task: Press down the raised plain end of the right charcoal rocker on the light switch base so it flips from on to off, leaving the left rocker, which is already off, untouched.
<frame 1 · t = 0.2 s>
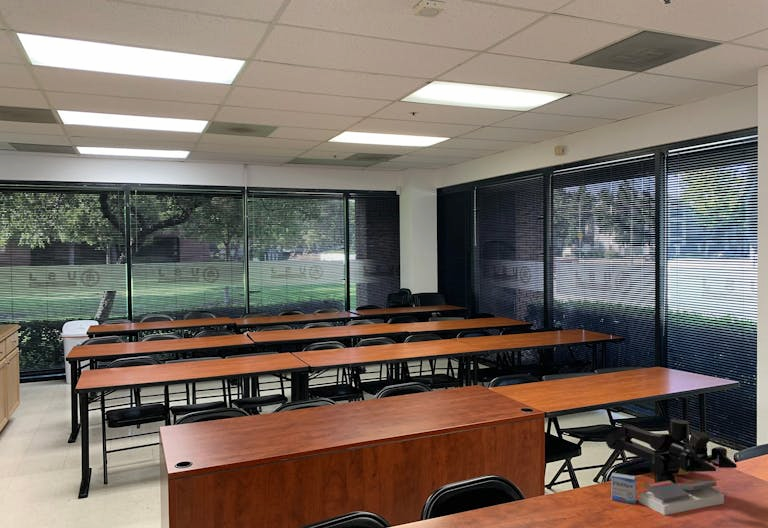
hand: (726, 468, 183), 16 cm above the table, tool horizontal, fingers open, 9 cm apart
light switch base: (681, 502, 195), on the table
rocker 1: (666, 491, 192), point 5 cm above the table, hinge at 15.0°
rocker 2: (695, 485, 197), point 5 cm above the table, hinge at -15.0°
medicine box: (623, 500, 197), on the table
stress ball: (679, 474, 222), on the table
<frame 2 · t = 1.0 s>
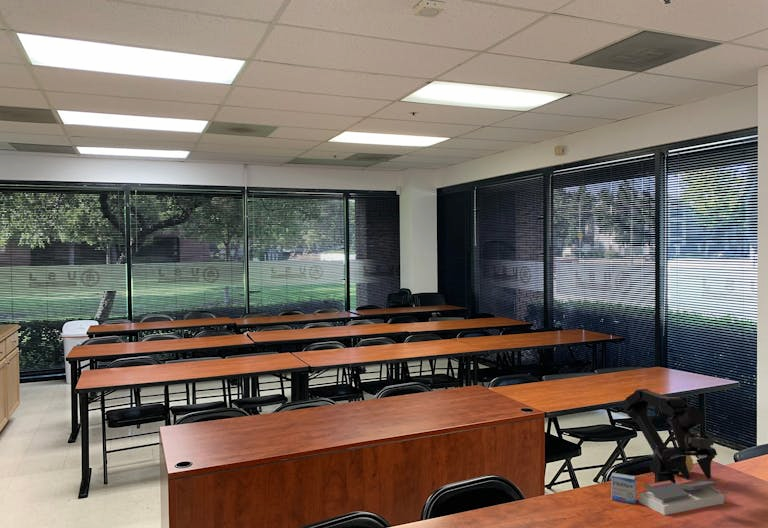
hand: (698, 479, 188), 11 cm above the table, tool tilted 30°, fingers open, 9 cm apart
nothing on the table moved.
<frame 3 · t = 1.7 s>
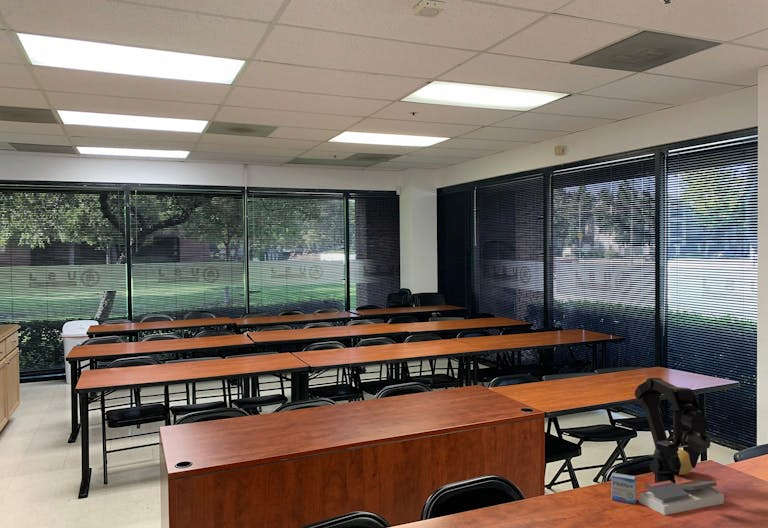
hand: (683, 469, 194), 12 cm above the table, tool pointing down, fingers open, 9 cm apart
nothing on the table moved.
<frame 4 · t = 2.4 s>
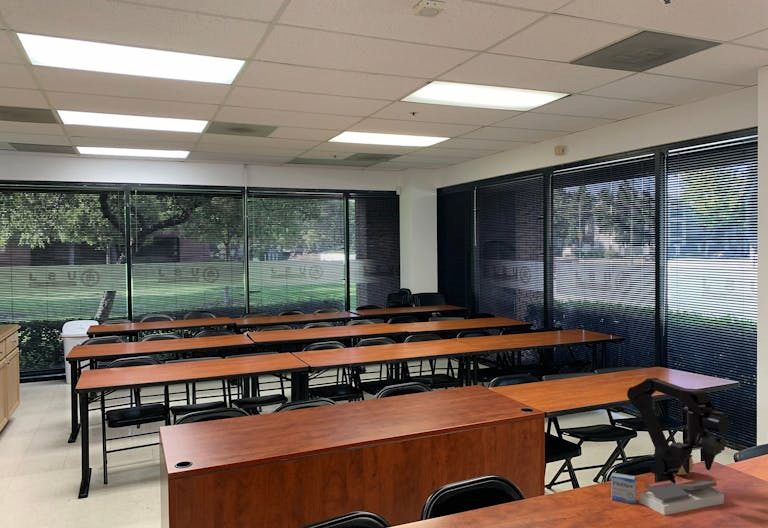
hand: (697, 471, 194), 11 cm above the table, tool pointing down, fingers open, 9 cm apart
nothing on the table moved.
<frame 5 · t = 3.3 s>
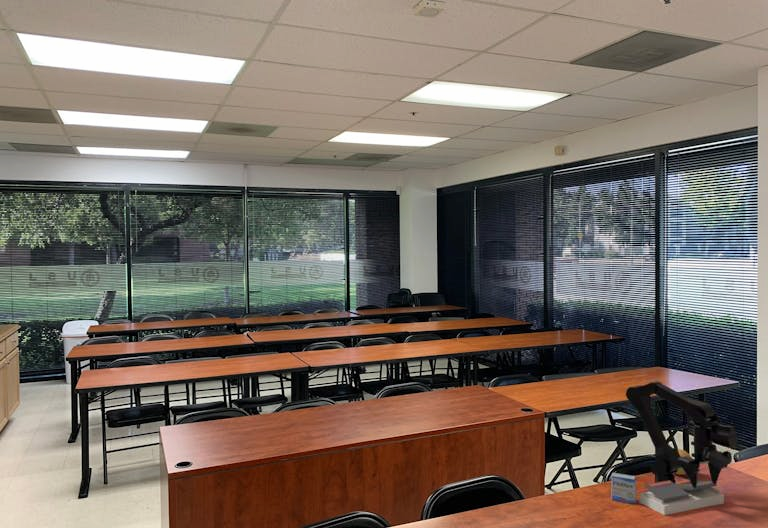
hand: (704, 485, 194), 6 cm above the table, tool pointing down
rocker 2: (695, 485, 197), point 5 cm above the table, hinge at -14.3°, touching gripper
everything else where it was.
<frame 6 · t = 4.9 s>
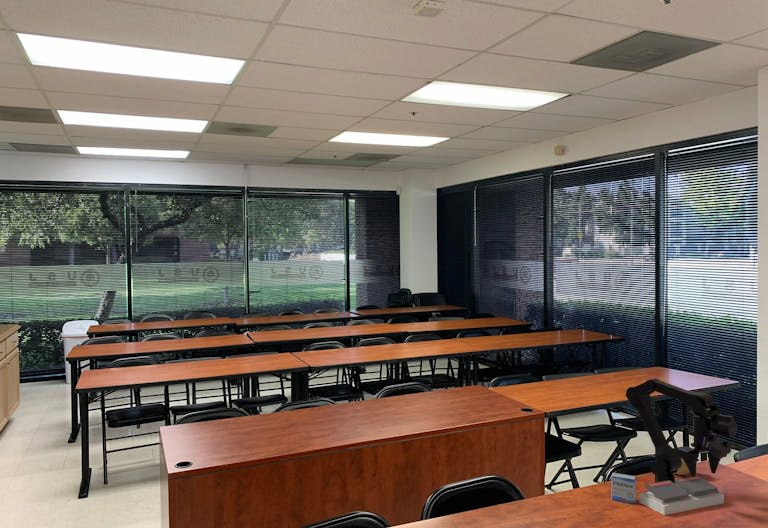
hand: (703, 474, 194), 10 cm above the table, tool pointing down, fingers open, 9 cm apart
rocker 2: (695, 485, 197), point 5 cm above the table, hinge at 10.4°
everything else where it was.
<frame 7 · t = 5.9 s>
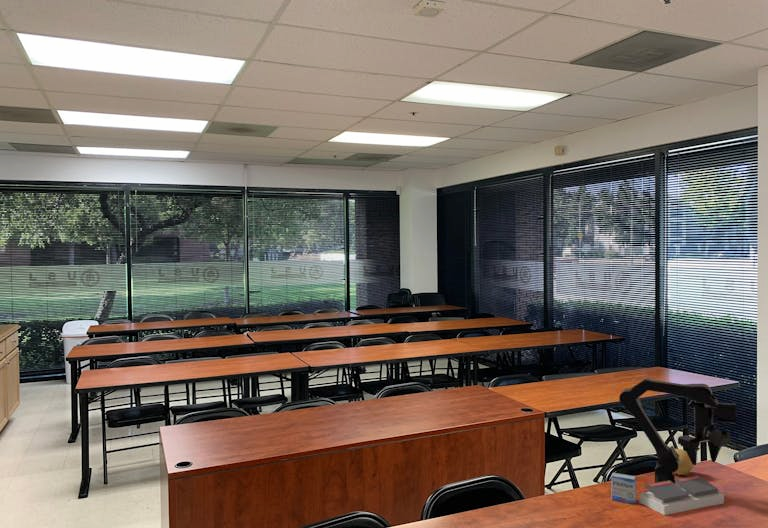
hand: (704, 463, 200), 12 cm above the table, tool pointing down, fingers open, 9 cm apart
rocker 2: (695, 485, 197), point 5 cm above the table, hinge at 14.0°
everything else where it was.
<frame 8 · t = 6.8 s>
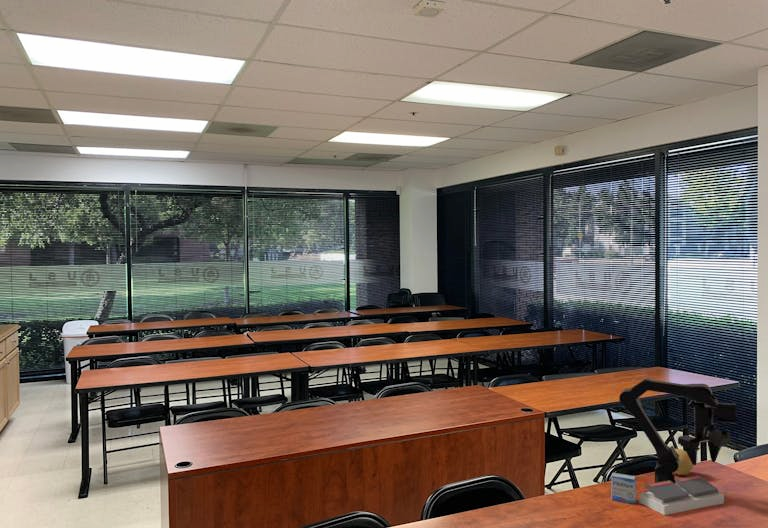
hand: (704, 463, 200), 12 cm above the table, tool pointing down, fingers open, 9 cm apart
rocker 2: (696, 485, 197), point 5 cm above the table, hinge at 15.6°
everything else where it was.
at the end: rocker 2 at +16° (first picture: -15°); rocker 1 at +15° (first picture: +15°) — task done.
